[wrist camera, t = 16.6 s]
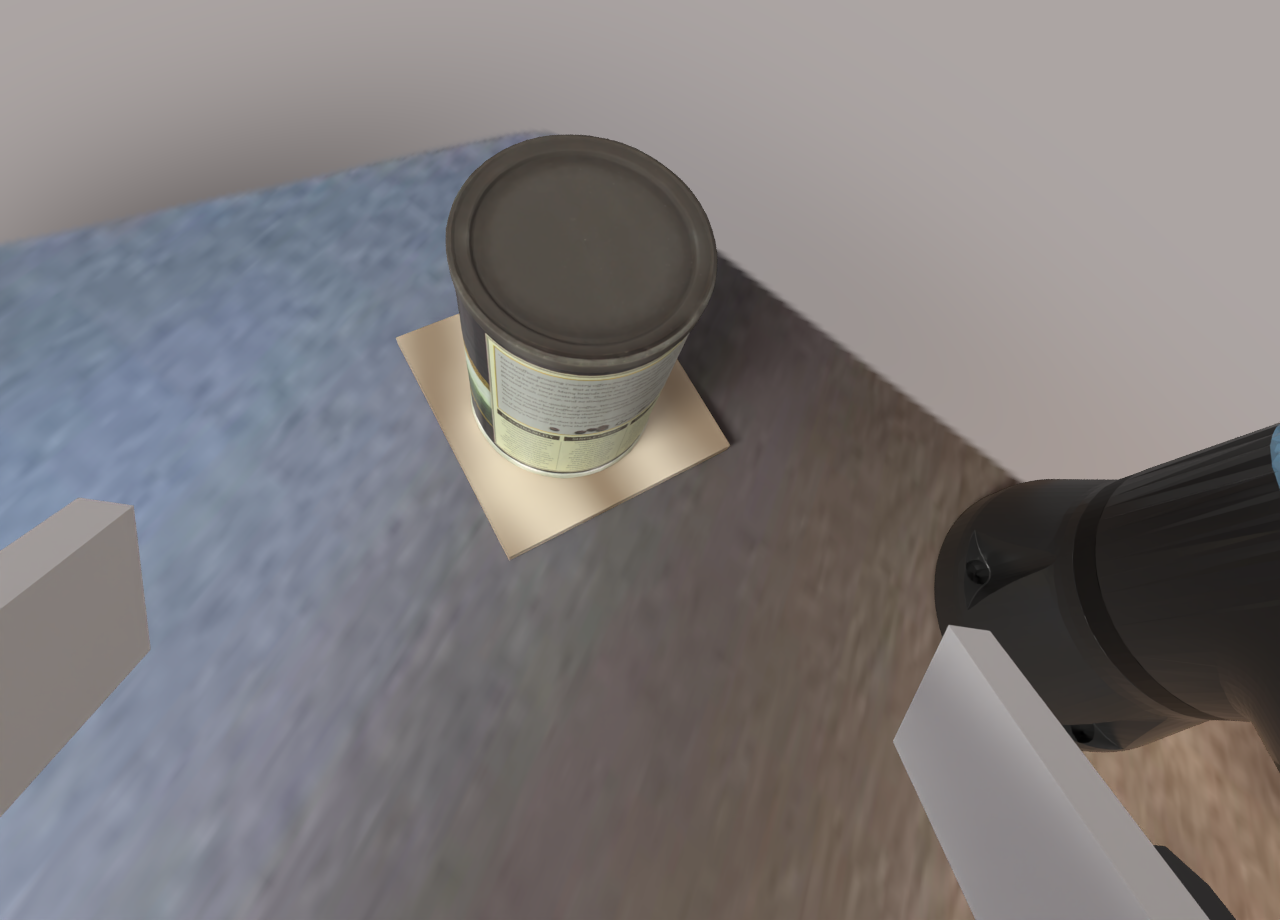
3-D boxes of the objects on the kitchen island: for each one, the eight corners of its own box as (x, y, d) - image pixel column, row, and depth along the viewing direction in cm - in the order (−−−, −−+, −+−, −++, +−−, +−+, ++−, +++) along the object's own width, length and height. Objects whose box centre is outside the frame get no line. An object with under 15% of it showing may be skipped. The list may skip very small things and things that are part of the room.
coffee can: (429, 386, 38) (384, 221, 25) (566, 283, 42) (589, 92, 29) (558, 519, 37) (582, 420, 24) (687, 402, 40) (771, 259, 27)
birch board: (611, 262, 44) (613, 254, 43) (726, 450, 41) (730, 445, 40) (398, 344, 39) (396, 337, 39) (509, 560, 37) (509, 557, 36)
